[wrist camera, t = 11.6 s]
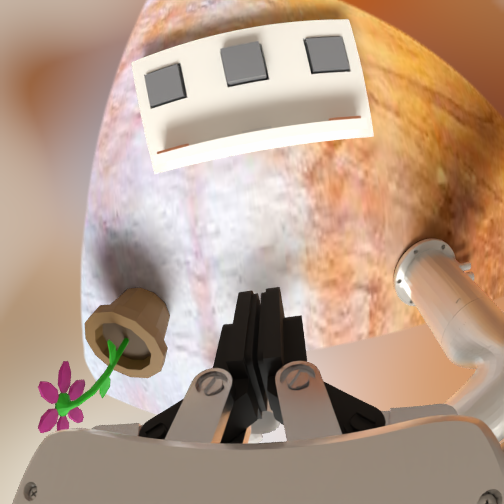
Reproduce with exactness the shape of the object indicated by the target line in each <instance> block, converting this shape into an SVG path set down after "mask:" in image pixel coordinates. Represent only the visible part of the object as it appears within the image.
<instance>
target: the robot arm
mask: <svg viewBox="0 0 504 504" xmlns="http://www.w3.org/2000/svg"><path fill="white" fill-rule="evenodd" d="M470 268H471V264H470V262H464V263H461V264H460V263H459V262H458V261H457V260H456V259H455V254H454V252H453V250H452V249H451V247H450V246H449V245H448V244H447V243H445V242H444V241H442V240H440V239H435V238H430V239H424V240H422V241H419V242H418V243H416V244H414V245H413V246H412V247H410V248H409V249H408V250H407V251H406V252H405V253H404V255H403V256H402V257H401V259H400V260H399V262H398V264H397V267H396V269H395V273H394V280H393V282H394V288H395V292H396V293H397V295H398V297H399V298H400V299H401V301H403V302H404V303H405V304H407V305H410V306H416V307H417V309H418V311H419V312H420V314H421V315H422V317H423V318H424V320H425V321H426V323H427V324H428V326H429V327H430V329H431V330H432V332H433V334H434V336H435V337H436V339H437V341H438V342H439V344H440V346H441V347H442V349H443V351H444V353H445V354H446V356H447V357H448V359H450V361H451V362H452V363H454V364H455V365H457V366H460V367H464V368H470V369H476V371H475V373H474V374H473V375H472V377H470V379H469V380H468V381H467V382H466V383H465V384H464V385H463V386H462V387H461V388H460V389H459V390H458V391H457V392H456V393H455V394H454V395H453V396H451V397H450V398H449V399H448V400H447V401H446V402H445V403H444V404H434V405H426V406H415V407H403V408H390V411H380V410H379V409H377V408H376V407H374V406H372V405H369V404H367V403H365V402H363V401H361V400H359V399H357V398H355V397H353V396H351V395H349V394H347V393H345V392H343V391H341V390H339V389H337V388H335V387H333V386H331V385H329V384H327V383H325V382H324V381H323V379H322V377H321V374H320V371H319V370H318V368H317V367H316V366H315V365H314V364H312V363H309V362H307V356H306V348H305V339H304V331H303V323H302V316H294V317H287V318H285V316H284V310H283V304H282V298H281V292H280V288H279V287H276V288H268V289H266V292H265V293H261V305H260V300H259V296H258V293H257V294H253V291H246V292H239V294H238V299H237V304H236V310H235V315H234V320H233V324H225V325H223V327H222V331H221V335H220V340H219V344H218V348H217V353H216V357H215V361H214V366H213V368H211V369H207V370H204V371H202V372H201V373H199V374H198V375H197V376H196V377H195V378H194V379H193V381H192V383H191V385H190V387H189V389H188V391H187V393H186V395H185V397H184V399H182V400H181V401H179V402H178V403H176V404H175V405H173V406H171V407H170V408H168V409H167V410H165V411H163V412H162V413H160V414H158V415H157V416H155V417H153V418H152V419H150V420H148V421H147V422H146V423H145V424H144V425H140V424H139V423H134V424H119V425H99V426H95V427H94V428H92V429H85V428H76V429H75V428H72V429H64V430H59V431H56V432H53V433H51V434H49V435H48V436H47V437H46V438H45V439H44V440H43V441H42V443H41V444H40V445H39V447H38V449H37V450H36V452H35V453H34V455H33V457H32V459H31V461H30V463H29V465H28V467H27V469H26V471H25V473H24V475H23V478H22V480H21V482H20V485H19V487H18V490H17V493H16V495H15V498H14V500H13V503H12V504H504V442H503V443H501V444H500V443H499V442H500V441H501V440H502V439H503V438H504V312H503V311H502V310H501V309H500V308H499V307H498V306H497V305H496V304H495V303H494V302H493V300H492V299H491V298H490V297H489V296H488V295H487V294H486V293H485V292H484V291H483V290H482V289H481V288H480V287H479V286H478V285H477V284H476V283H475V282H474V274H473V272H467V273H465V272H464V271H465V270H469V269H470ZM463 270H464V271H463ZM268 402H269V405H270V409H271V411H273V415H274V418H275V419H276V420H277V421H278V422H280V423H281V424H283V425H284V428H285V433H286V438H287V441H286V442H272V443H248V441H249V437H250V433H251V425H252V424H253V423H254V422H255V421H257V419H262V411H267V407H268Z"/></svg>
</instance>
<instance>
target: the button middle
mask: <svg viewBox="0 0 504 504" xmlns="http://www.w3.org/2000/svg"><path fill="white" fill-rule="evenodd" d="M220 51H221V56H222V60H223V65H224V70H225V74H226V79H227V82H228V84H229V85H230V86H232V85H237V84H242V83H247V82H253V81H258V80H264V79H267V78H266V72H265V67H264V63H263V58H262V54H261V50H260V45H259V41H256V42H250V43H245V44H240V45H235V46H230V47H226V48H221V49H220Z"/></svg>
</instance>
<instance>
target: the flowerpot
mask: <svg viewBox="0 0 504 504" xmlns="http://www.w3.org/2000/svg"><path fill="white" fill-rule="evenodd" d="M169 317H170V314H169V312H168V309H167V307H166V304H165V303H164V302H163V301H162V300H161V299H160V298H159V297H158V296H157V295H156V294H155V293H153V292H151V291H148V290H146V289H143V288H141V287H140V288H131V289H127V290H126V291H125V292H124V293H123V294H122V295H121V296H119V297H118V298H117V299H116V300H115V301H114V302H113V303H112V304H111V305H100V306H99V307H98V308H97V309H96V310H95V311H94V313H93V314H92V315H91V316H90V317H89V318H88V320H87V321H86V322H85V336H86V340H87V342H88V344H89V345H90V347H91V349H92V350H93V352H94V353H95V355H96V356H97V357H98V358H99V359H101V360H102V361H103V362H104V363H105V364H106V365H108V367H107V369H106V370H105V372H104V373H103V374H102V376H101V377H100V378H99V379H98V380H97V382H96V383H95V384H94V385H93V386H92V387H91V389H90V390H88V391H87V392H85V393H84V394H83V395H82V393H83V390H84V387H85V381H84V380H76V381H75V382H74V383H73V384H72V385H71V386H70V381H71V380H70V379H71V370H70V366H69V363H68V361H64V362H63V364H62V366H61V368H60V370H59V375H58V386H59V388H60V391H61V393H60V394H59V395H58V390H57V389H56V388H55V387H54V386H53V385H52V384H51V383H49V382H44V381H41V382H40V384H39V386H38V388H39V391H40V394H41V397H43V398H44V399H45V400H46V401H48V402H49V403H51V404H53V403H55V409H48V410H47V411H46V412H45V413H44V414H43V416H42V417H41V419H40V423H39V426H38V429H39V431H40V433H44V432H47V431H50V430H51V429H52V428H53V427H54V425H55V424H56V423H57V431H59V430H64V429H69V422H68V420H67V418H66V415H67V414H68V416H69V418H70V419H71V420H73V421H74V422H76V423H80V422H82V421H83V418H84V417H83V413H82V411H81V409H79V408H78V407H77V406H79V405H80V404H82V403H83V402H84V401H86V400H87V399H89V398H90V397H91V396H93V395H94V394H95V393H96V392H97V390H98V389H99V388H100V394H101V397H102V398H103V397H104V396H105V394H106V392H107V391H108V389H109V387H110V378H109V376H110V374H111V373H112V371H113V370H115V371H118V372H120V373H122V374H125V375H127V376H129V377H139V378H149V377H151V376H153V375H155V374H157V373H158V372H160V371H161V370H162V367H163V365H164V362H165V357H166V353H167V346H166V344H165V342H164V337H165V334H166V330H167V326H168V322H169ZM69 386H70V389H69V393H68V394H67V393H66V392H67V390H68V388H69ZM71 400H73V401H71ZM58 415H60V418H59V420H58V422H57V419H58Z"/></svg>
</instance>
